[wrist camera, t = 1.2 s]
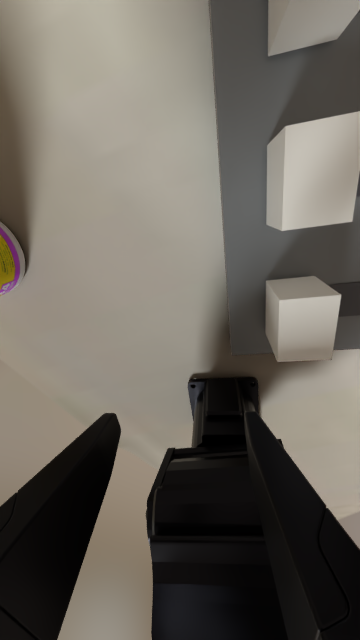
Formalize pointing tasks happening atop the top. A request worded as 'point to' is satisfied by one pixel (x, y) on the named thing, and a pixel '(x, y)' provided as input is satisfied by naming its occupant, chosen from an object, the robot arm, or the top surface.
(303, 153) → the tab middle
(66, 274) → the top surface
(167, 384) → the top surface
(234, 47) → the switch bank
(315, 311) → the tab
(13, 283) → the supplement bottle
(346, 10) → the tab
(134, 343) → the top surface
